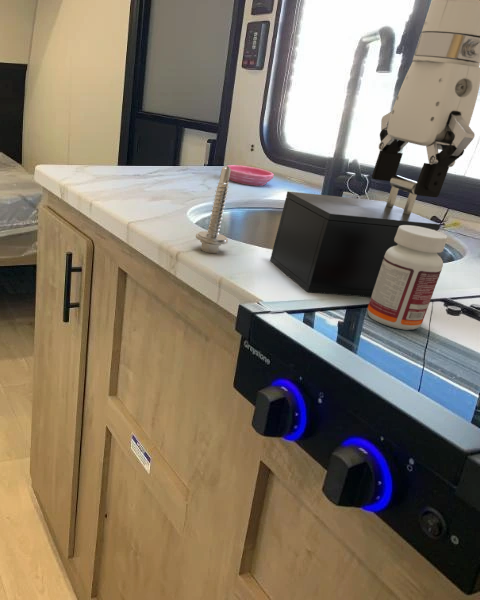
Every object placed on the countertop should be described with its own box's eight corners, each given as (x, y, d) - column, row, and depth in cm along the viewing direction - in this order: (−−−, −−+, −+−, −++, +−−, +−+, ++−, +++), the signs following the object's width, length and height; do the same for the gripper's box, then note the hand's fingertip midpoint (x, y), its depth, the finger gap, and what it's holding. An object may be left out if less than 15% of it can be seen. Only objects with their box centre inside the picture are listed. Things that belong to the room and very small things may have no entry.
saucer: (272, 189, 149) (275, 177, 148) (222, 181, 151) (224, 169, 150) (269, 181, 160) (272, 169, 159) (223, 174, 162) (225, 162, 161)
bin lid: (382, 206, 89) (394, 171, 87) (438, 230, 77) (452, 190, 75) (285, 196, 87) (295, 160, 85) (328, 219, 75) (340, 178, 73)
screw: (190, 251, 90) (196, 243, 94) (222, 258, 89) (226, 249, 93) (208, 164, 85) (213, 160, 89) (242, 170, 84) (245, 166, 88)
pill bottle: (417, 318, 74) (449, 231, 70) (422, 336, 69) (457, 242, 65) (364, 306, 76) (392, 220, 72) (365, 322, 71) (396, 230, 67)
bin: (358, 268, 92) (378, 206, 89) (408, 300, 81) (432, 230, 77) (269, 260, 90) (285, 197, 87) (307, 292, 79) (328, 220, 75)
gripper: (529, 58, 67) (472, 206, 74) (431, 55, 83) (390, 177, 90) (470, 48, 66) (417, 199, 73) (382, 47, 82) (344, 171, 89)
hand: (402, 187), depth 81 cm, fingers open, 9 cm apart
